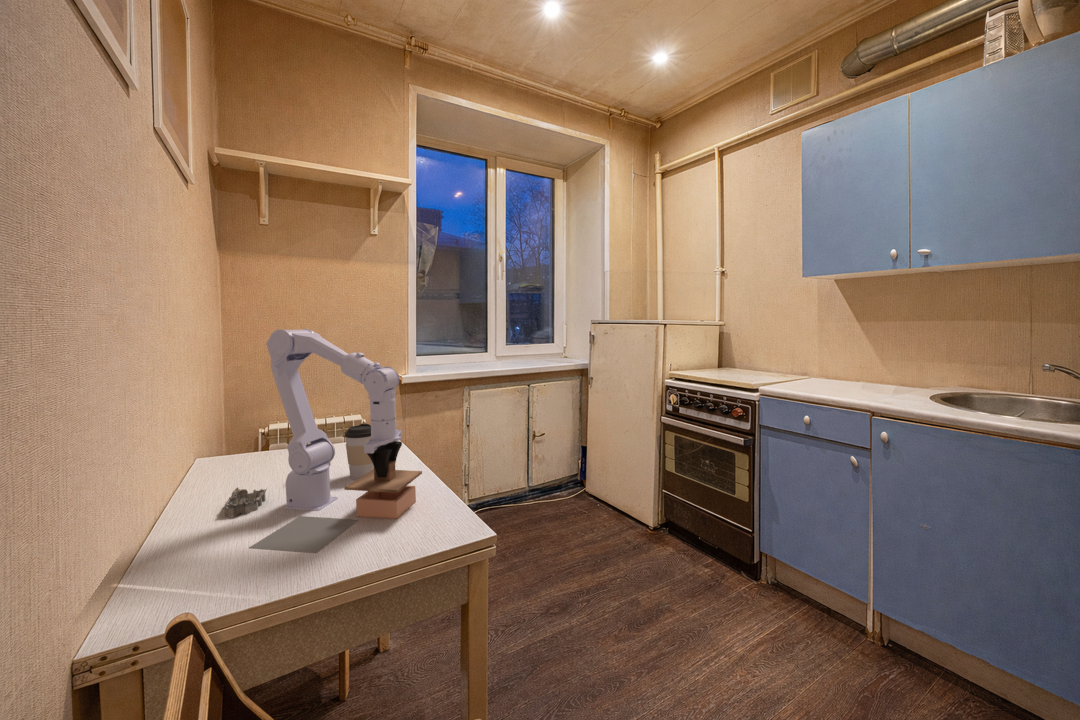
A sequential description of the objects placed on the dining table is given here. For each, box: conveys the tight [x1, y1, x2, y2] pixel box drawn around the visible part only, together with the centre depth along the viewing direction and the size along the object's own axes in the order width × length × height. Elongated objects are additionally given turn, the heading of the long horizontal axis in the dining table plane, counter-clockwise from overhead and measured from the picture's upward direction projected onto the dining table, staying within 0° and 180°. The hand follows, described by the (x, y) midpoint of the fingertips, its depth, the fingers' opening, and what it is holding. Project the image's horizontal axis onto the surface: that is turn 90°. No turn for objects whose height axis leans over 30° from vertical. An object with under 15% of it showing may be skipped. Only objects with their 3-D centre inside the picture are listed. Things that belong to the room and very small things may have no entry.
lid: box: [343, 461, 423, 493], centre depth 106 cm, size 13×13×5 cm
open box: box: [355, 485, 417, 520], centre depth 107 cm, size 10×10×4 cm
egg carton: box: [222, 487, 267, 517], centre depth 110 cm, size 11×8×4 cm
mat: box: [248, 515, 359, 554], centre depth 95 cm, size 15×15×1 cm
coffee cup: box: [344, 423, 374, 480], centre depth 132 cm, size 9×9×15 cm
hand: (385, 474), depth 106 cm, fingers closed on lid, 3 cm apart
